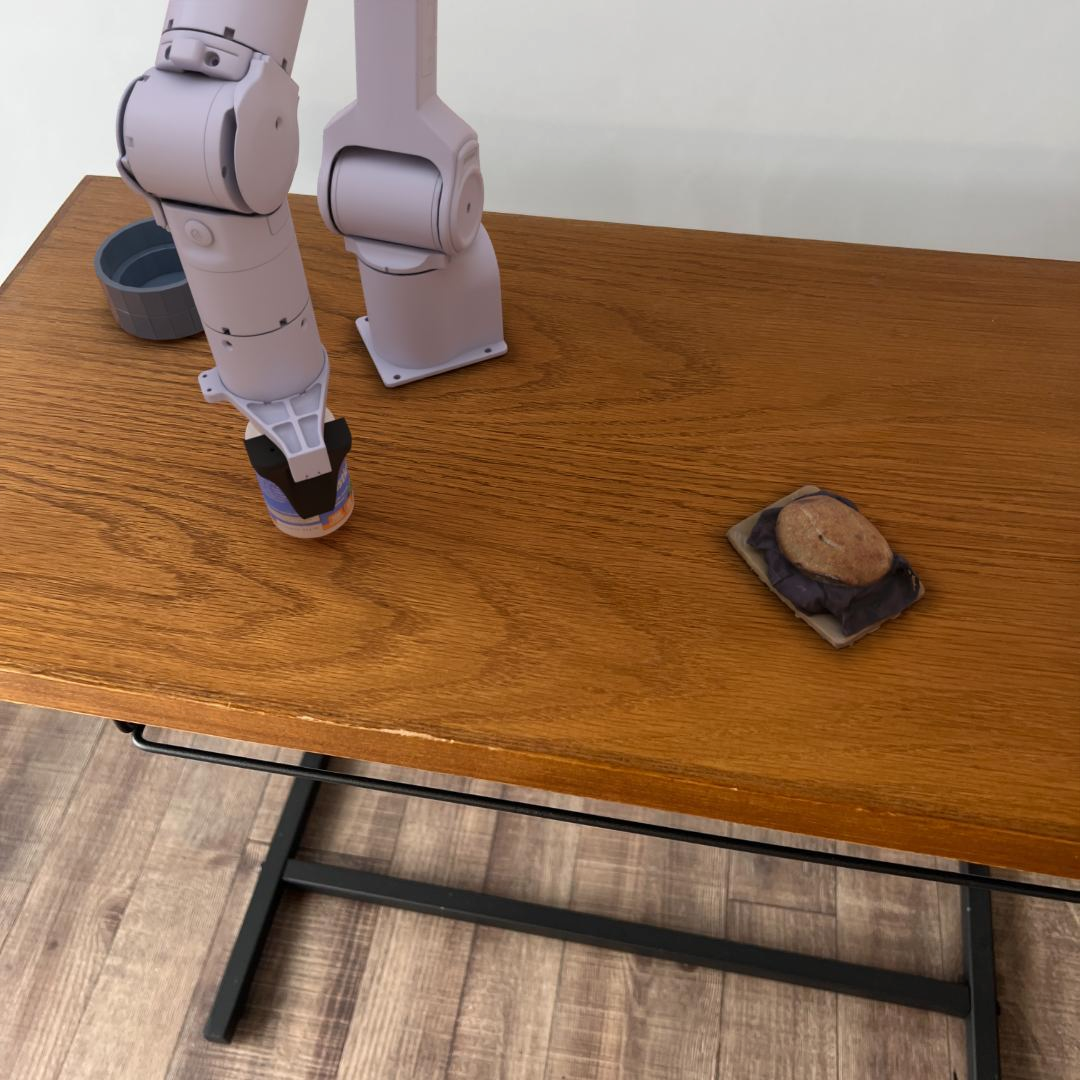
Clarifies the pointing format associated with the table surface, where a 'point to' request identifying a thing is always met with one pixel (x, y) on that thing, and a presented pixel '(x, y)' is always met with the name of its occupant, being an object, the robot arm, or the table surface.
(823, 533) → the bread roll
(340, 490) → the pill bottle
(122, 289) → the bowl
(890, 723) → the table surface
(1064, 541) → the table surface
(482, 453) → the table surface
